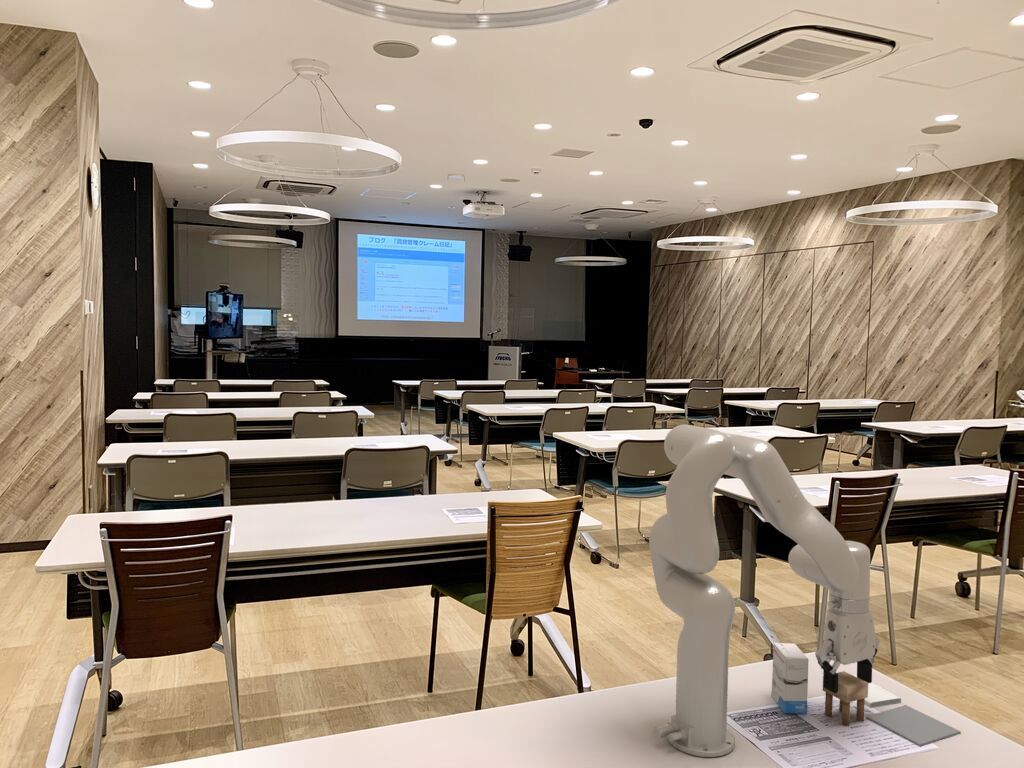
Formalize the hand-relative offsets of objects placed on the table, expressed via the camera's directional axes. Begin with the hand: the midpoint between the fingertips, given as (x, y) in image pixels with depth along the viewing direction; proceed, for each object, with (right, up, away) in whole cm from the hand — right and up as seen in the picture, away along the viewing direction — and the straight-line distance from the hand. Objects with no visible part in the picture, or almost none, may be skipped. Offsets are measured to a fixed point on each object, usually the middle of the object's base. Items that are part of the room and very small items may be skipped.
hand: (847, 685), depth 154 cm
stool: (-1, -7, 0) cm, 7 cm away
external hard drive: (+9, -7, +12) cm, 16 cm away
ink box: (-10, -7, +6) cm, 13 cm away
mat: (+12, -7, -3) cm, 14 cm away
